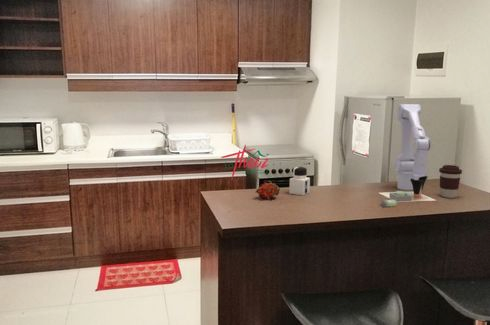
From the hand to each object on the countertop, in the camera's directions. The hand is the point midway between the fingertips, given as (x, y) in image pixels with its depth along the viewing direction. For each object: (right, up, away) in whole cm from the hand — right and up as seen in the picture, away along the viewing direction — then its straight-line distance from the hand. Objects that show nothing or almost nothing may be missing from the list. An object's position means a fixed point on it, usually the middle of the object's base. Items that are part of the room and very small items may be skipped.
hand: (418, 192), depth 202 cm
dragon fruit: (-71, -3, +1) cm, 71 cm away
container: (-54, -1, +12) cm, 56 cm away
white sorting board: (-4, -3, +3) cm, 6 cm away
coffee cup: (+17, -3, +6) cm, 19 cm away
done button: (-10, -2, -3) cm, 10 cm away
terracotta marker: (0, -2, 0) cm, 2 cm away
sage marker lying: (-18, -6, -13) cm, 23 cm away
